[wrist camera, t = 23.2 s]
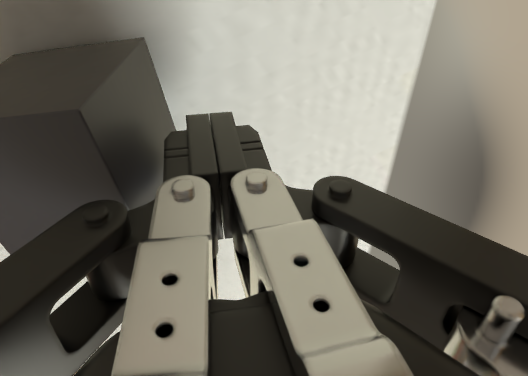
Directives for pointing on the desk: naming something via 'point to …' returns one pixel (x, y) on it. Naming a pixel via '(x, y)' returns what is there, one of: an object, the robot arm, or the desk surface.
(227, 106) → the desk surface
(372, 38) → the desk surface
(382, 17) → the desk surface
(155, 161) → the block charcoal
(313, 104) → the desk surface
